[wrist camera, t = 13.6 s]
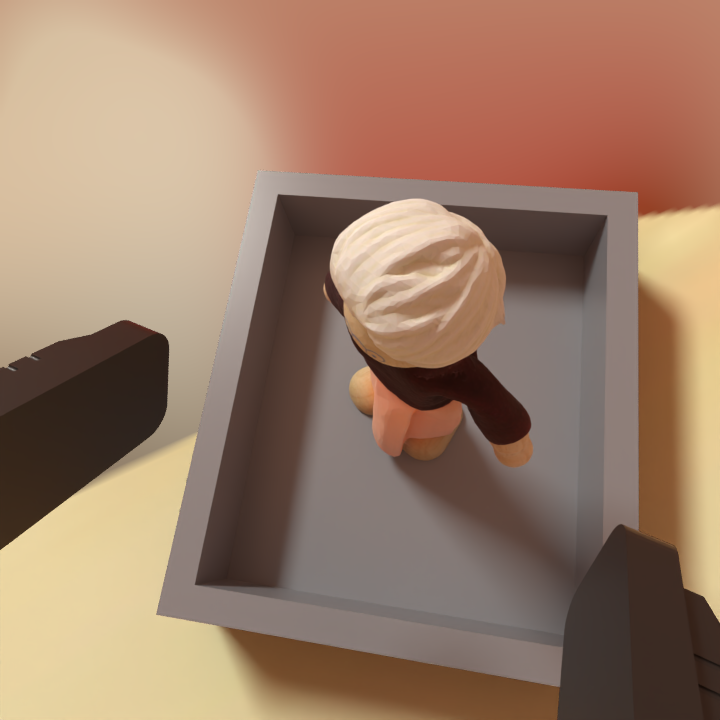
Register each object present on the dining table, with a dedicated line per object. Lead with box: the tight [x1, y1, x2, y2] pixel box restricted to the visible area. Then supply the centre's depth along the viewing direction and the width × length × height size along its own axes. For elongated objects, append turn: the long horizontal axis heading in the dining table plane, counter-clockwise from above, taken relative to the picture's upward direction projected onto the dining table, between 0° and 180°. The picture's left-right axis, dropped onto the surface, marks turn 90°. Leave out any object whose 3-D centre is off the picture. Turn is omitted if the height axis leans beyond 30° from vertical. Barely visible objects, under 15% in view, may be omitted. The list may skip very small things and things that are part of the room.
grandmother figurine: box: [324, 199, 533, 468], centre depth 15 cm, size 8×4×13 cm, turn 55°
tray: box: [156, 171, 639, 687], centre depth 20 cm, size 14×16×4 cm
